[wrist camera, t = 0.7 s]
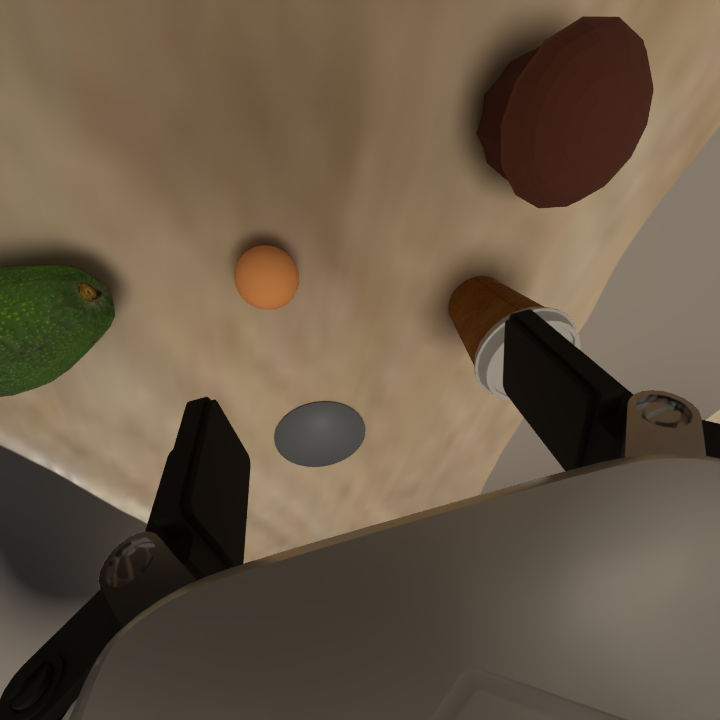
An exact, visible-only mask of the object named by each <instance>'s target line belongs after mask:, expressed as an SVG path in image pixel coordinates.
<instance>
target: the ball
mask: <svg viewBox="0 0 720 720" xmlns="http://www.w3.org/2000/svg"><path fill="white" fill-rule="evenodd" d="M234 280H235V284H236V288H237V290H238V292H239V294H240V295H241V296H242V298H243V299H244V300H245V301H246V302H248V303H249V304H250V305H252V306H254V307H257V308H260V309H266V310H271V309H277V308H280V307H282V306H284V305H286V304H287V303H288V302H289V301H290V300H291V299H292V298H293V297H294V295H295V293H296V291H297V289H298V285H299V274H298V270H297V267H296V265H295V263H294V261H293V260H292V258H291V257H290V256H289V255H288V254H287V253H286V252H284V251H283V250H281V249H279V248H277V247H273V246H267V245H262V246H257V247H253V248H251V249H249V250H248V251H246V252H245V253H244V254H243V255H242V256H241V257H240V259H239V260H238V262H237V264H236V267H235V272H234Z"/></svg>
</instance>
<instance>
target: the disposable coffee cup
mask: <svg viewBox="0 0 720 720" xmlns="http://www.w3.org/2000/svg"><path fill="white" fill-rule="evenodd" d="M527 309H531V310H533V311H534V312H535V313H536V314H537V315H539V316H540V317H541V318H542V319H543V320H545V321H546V322H547V323H548V324H549V325H551V326H552V327H553V328H554V329H555V330H557V331H558V332H559V333H560V334H561V335H563V336H564V337H565V338H566V339H567V340H569V341H570V342H571V343H572V344H573V345H575V346H576V347H577V348H578V349H579V350H580V338H579V335H578V333H577V332H576V327H575V324H574V322H573V321H572V319H571V318H570V317H569V316H568V315H567V314H565V313H563V312H561V311H559V310H557V309H553V308H547V307H544V306H542V305H540V304H538V303H536V302H534V301H532V300H531V299H529V298H527V297H525V296H523V295H521V294H520V293H518V292H516V291H514V290H512V289H510V288H509V287H507V286H505V285H503V284H501V283H499V282H498V281H496V280H494V279H493V278H490V277H486V276H480V277H475V278H472V279H469V280H467V281H466V282H464V283H463V284H461V285H460V286H459V287H458V288H457V289H456V291H455V292H454V293H453V295H452V297H451V300H450V303H449V314H450V317H451V319H452V321H453V323H454V325H455V327H456V329H457V331H458V333H459V335H460V337H461V339H462V341H463V343H464V345H465V347H466V350H467V352H468V354H469V356H470V358H471V360H472V362H473V364H474V369H475V376H476V379H477V381H478V383H479V384H480V386H481V387H482V388H483V389H484V390H486V391H487V392H489V393H491V394H493V395H495V396H497V397H499V398H500V399H503V400H508V401H511V400H510V398H509V397H508V396H507V394H506V393H505V391H504V388H503V359H504V333H505V321H506V320H508V319H509V318H510V315H511V314H513V313H516V312H520V311H524V310H527Z"/></svg>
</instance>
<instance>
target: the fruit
mask: <svg viewBox="0 0 720 720" xmlns="http://www.w3.org/2000/svg"><path fill="white" fill-rule="evenodd" d="M114 316H115V309H114V303H113V299H112V296H111V294H110V292H109V290H108V289H107V288H106V287H105V286H104V285H103V283H102V282H101V281H100V280H99V279H97V278H94V277H92V276H90V275H88V274H86V273H84V272H83V271H81V270H79V269H77V268H74V267H72V266H62V265H31V266H14V267H2V268H0V397H2V396H13V395H16V394H19V393H22V392H25V391H28V390H32V389H35V388H37V387H40V386H42V385H45V384H47V383H50V382H52V381H53V380H55V379H56V378H58V377H59V376H61V375H62V374H63V373H65V372H66V371H68V370H69V369H70V368H71V367H73V366H74V365H75V364H76V363H77V362H78V361H79V360H80V359H81V358H82V357H83V356H84V355H85V354H86V353H87V352H88V351H89V350H90V349H91V348H92V347H93V345H94V344H95V343H96V342H97V341H98V340H99V339H100V338H101V337H102V336H103V334H104V333H105V332H106V331H107V330H108V329H109V327H110V326H111V324H112V321H113V319H114Z"/></svg>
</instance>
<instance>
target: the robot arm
mask: <svg viewBox="0 0 720 720" xmlns="http://www.w3.org/2000/svg"><path fill="white" fill-rule="evenodd" d="M503 388H504V391H505V393H506V394H507V396H508V397H509V398H510V400H511V401H512V402H513V404H514V405H515V406H516V408H517V409H518V410H519V411H520V413H521V414H522V415H523V417H524V418H525V419H526V420H527V422H528V423H529V424H530V426H531V427H532V428H533V430H534V431H535V432H536V433H537V435H538V436H539V437H540V439H541V440H542V441H543V443H544V444H545V445H546V446H547V448H548V449H549V450H550V452H551V453H552V454H553V456H554V457H555V458H556V459H557V461H558V462H559V463H560V465H561V466H562V467H563V469H564V470H565V472H562V473H558V474H554V475H550V476H547V477H543V478H539V479H535V480H532V481H528V482H525V483H521V484H518V485H514V486H510V487H507V488H504V489H500V490H496V491H493V492H490V493H485V494H482V495H478V496H475V497H471V498H468V499H464V500H460V501H457V502H453V503H450V504H446V505H443V506H439V507H436V508H432V509H429V510H425V511H422V512H418V513H415V514H411V515H408V516H404V517H401V518H397V519H394V520H390V521H387V522H383V523H380V524H376V525H373V526H369V527H366V528H363V529H359V530H356V531H352V532H349V533H345V534H342V535H339V536H335V537H332V538H328V539H325V540H321V541H318V542H314V543H311V544H308V545H304V546H301V547H297V548H294V549H290V550H287V551H284V552H280V553H277V554H274V555H271V556H267V557H264V558H261V559H258V560H255V561H251V562H248V563H245V564H243V561H244V547H245V533H246V520H247V506H248V492H249V478H250V458H249V455H248V453H247V452H246V450H245V448H244V446H243V445H242V443H241V441H240V440H239V438H238V436H237V434H236V433H235V431H234V429H233V428H232V426H231V424H230V423H229V421H228V419H227V417H226V416H225V414H224V412H223V411H222V409H221V407H220V405H219V404H218V402H217V401H216V400H210V399H209V398H208V397H204V398H200V399H197V400H193V401H189V402H188V403H187V405H186V408H185V411H184V414H183V418H182V421H181V425H180V428H179V431H178V435H177V438H176V442H175V445H174V448H173V450H172V451H171V452H170V453H169V455H168V458H167V461H166V465H165V468H164V471H163V474H162V478H161V481H160V484H159V488H158V491H157V494H156V498H155V501H154V504H153V507H152V511H151V514H150V517H149V521H148V524H147V527H146V531H145V532H141V533H137V534H135V535H133V536H130V537H128V538H127V539H126V540H124V541H123V542H121V543H120V544H119V545H118V546H117V547H116V548H115V549H114V550H113V551H112V552H111V553H110V555H109V556H108V557H107V559H106V560H105V562H104V563H103V566H102V568H101V570H100V574H99V580H98V581H99V586H100V590H99V591H98V592H97V593H96V594H95V595H94V596H93V597H92V598H91V599H90V600H89V601H88V603H86V604H85V605H84V606H83V607H82V608H81V609H80V610H79V611H78V612H77V613H76V614H75V615H74V616H73V617H72V618H71V619H70V620H69V621H68V622H67V623H66V624H65V625H64V626H63V627H62V628H61V629H60V630H59V631H58V632H57V633H56V634H55V635H54V636H53V637H51V639H49V640H48V641H47V642H46V643H45V644H44V645H43V646H42V647H41V648H40V649H39V650H38V651H37V652H36V653H35V654H34V655H33V656H32V657H31V658H30V659H29V660H28V661H27V662H26V663H25V664H24V665H23V666H22V667H21V668H20V670H19V671H18V672H17V673H16V674H15V675H14V676H13V678H12V679H11V681H10V682H9V684H8V685H7V687H6V688H5V690H4V692H3V694H2V696H1V699H0V720H720V424H718V423H713V422H709V421H705V420H702V419H701V416H700V413H699V410H698V409H697V408H696V407H695V406H694V405H693V404H692V403H690V402H689V401H687V400H686V399H684V398H682V397H680V396H677V395H675V394H672V393H668V392H664V391H654V390H650V391H642V392H639V393H636V394H634V395H633V394H632V393H631V392H629V391H628V390H627V389H626V388H625V387H623V386H622V385H621V384H620V383H619V382H617V381H616V380H615V379H614V378H613V377H612V376H610V375H609V374H608V373H607V372H605V371H604V370H603V369H602V368H601V367H599V366H598V365H597V364H596V363H595V362H594V361H592V360H591V359H590V358H589V357H588V356H586V355H585V354H584V353H583V352H582V351H580V350H579V349H578V348H577V347H576V346H575V345H573V344H572V343H571V342H570V341H569V340H567V339H566V338H565V337H564V336H563V335H561V334H560V333H559V332H558V331H557V330H555V329H554V328H553V327H552V326H551V325H549V324H548V323H547V322H546V321H545V320H543V319H542V318H541V317H540V316H539V315H537V314H536V313H535V312H534V311H533V310H531V309H527V310H524V311H520V312H516V313H513V314H511V315H510V318H509V319H508V320H506V321H505V333H504V359H503Z"/></svg>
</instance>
